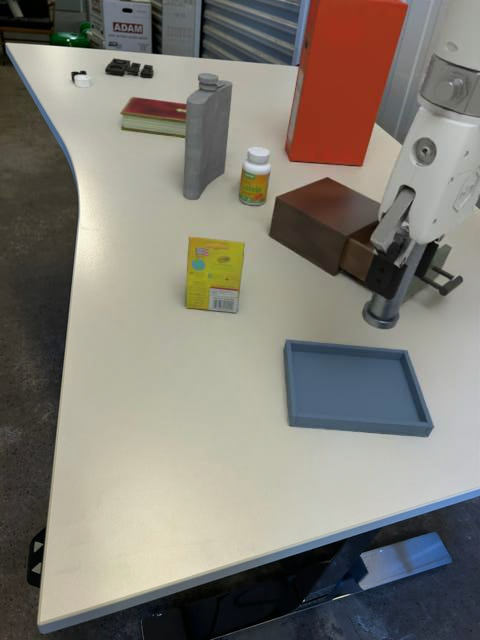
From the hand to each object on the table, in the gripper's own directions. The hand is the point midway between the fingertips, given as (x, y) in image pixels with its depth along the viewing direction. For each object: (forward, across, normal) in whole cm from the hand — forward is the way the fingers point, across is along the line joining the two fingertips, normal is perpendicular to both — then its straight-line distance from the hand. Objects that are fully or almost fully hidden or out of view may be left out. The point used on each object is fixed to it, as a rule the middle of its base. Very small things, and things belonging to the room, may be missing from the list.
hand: (395, 279), depth 48 cm
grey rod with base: (+5, 0, 0) cm, 5 cm away
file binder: (+17, +54, +47) cm, 74 cm away
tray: (+17, 0, 0) cm, 17 cm away
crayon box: (+17, -3, +22) cm, 29 cm away
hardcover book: (+17, +34, +79) cm, 88 cm away
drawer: (+16, +25, +9) cm, 31 cm away
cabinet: (+17, +25, +23) cm, 38 cm away
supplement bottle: (+17, +25, +42) cm, 51 cm away
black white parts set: (+17, +43, +117) cm, 126 cm away
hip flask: (+17, +21, +52) cm, 59 cm away
